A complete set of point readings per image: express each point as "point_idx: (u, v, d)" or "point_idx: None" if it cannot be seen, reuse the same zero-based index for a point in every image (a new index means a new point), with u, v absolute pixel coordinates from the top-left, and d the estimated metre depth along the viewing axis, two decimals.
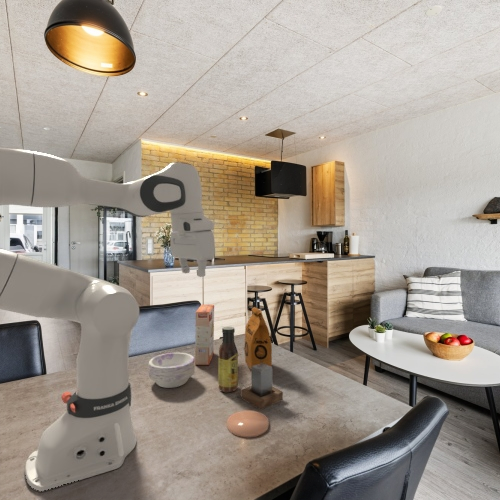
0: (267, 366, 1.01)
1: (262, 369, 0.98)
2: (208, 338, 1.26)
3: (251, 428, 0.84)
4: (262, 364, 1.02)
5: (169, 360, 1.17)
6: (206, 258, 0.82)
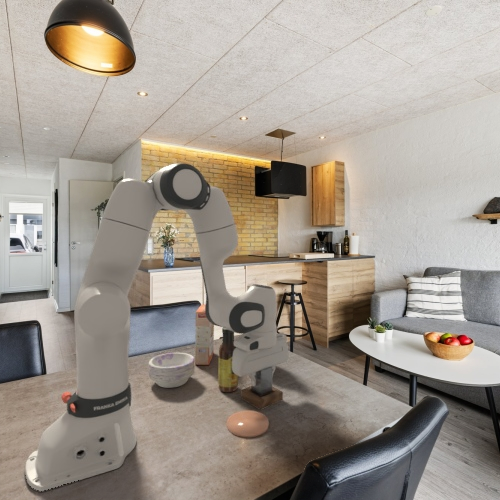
0: None
1: None
2: (208, 338, 1.26)
3: (251, 428, 0.84)
4: None
5: (169, 360, 1.17)
6: (234, 373, 0.95)
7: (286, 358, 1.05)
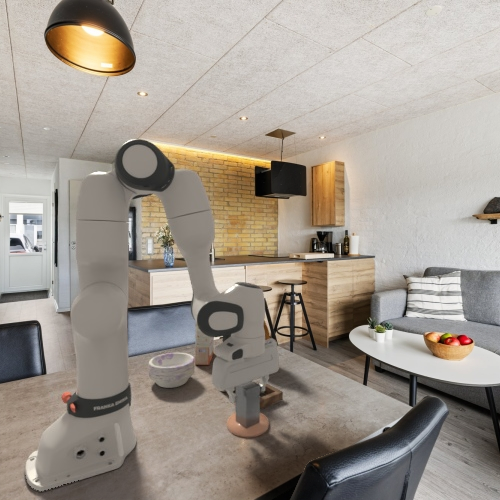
0: (254, 384, 0.87)
1: (248, 388, 0.84)
2: (208, 338, 1.26)
3: (251, 428, 0.84)
4: None
5: (169, 360, 1.17)
6: (214, 386, 0.81)
7: (276, 368, 0.91)
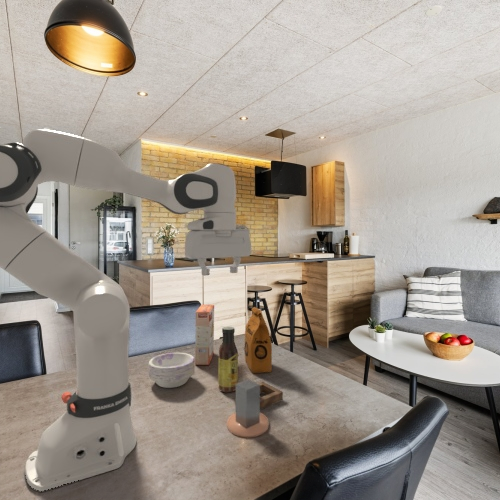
0: (254, 384, 0.87)
1: (248, 388, 0.84)
2: (208, 338, 1.26)
3: (251, 428, 0.84)
4: (248, 381, 0.88)
5: (169, 360, 1.17)
6: (187, 256, 0.86)
7: (248, 252, 0.96)
